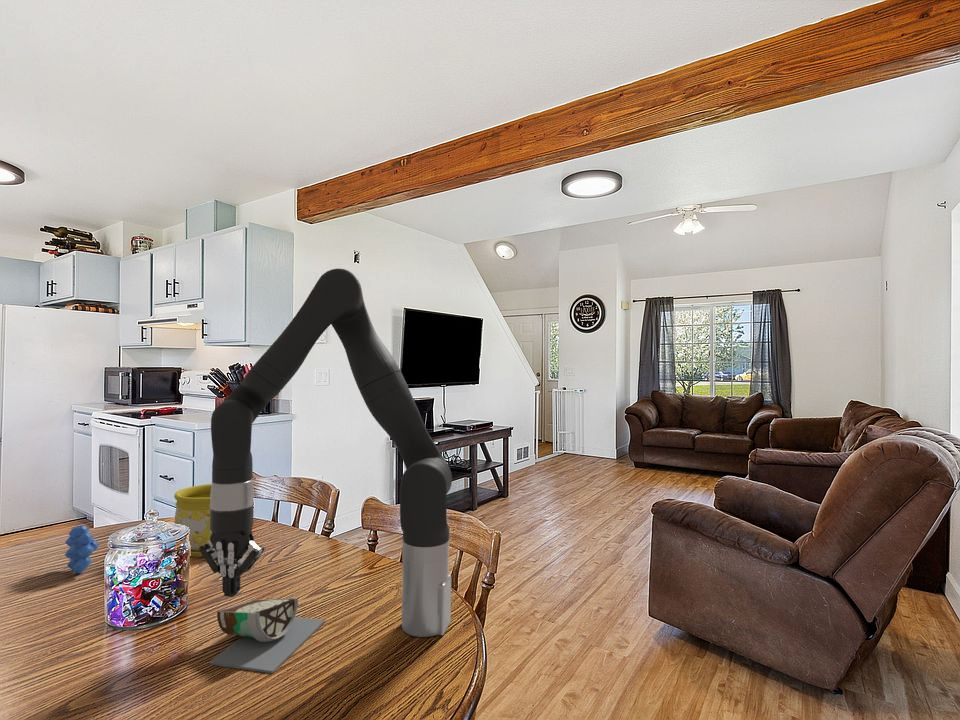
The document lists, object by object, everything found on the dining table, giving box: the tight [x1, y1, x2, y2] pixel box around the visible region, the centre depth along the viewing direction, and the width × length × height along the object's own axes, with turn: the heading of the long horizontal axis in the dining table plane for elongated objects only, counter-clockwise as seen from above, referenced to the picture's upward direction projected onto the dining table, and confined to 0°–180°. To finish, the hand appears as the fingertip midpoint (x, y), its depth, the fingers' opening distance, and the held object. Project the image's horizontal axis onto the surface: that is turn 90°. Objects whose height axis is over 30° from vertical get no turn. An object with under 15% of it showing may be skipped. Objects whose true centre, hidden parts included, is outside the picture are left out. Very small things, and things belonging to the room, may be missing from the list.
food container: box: [216, 597, 299, 642], centre depth 99 cm, size 12×6×10 cm
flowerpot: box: [173, 483, 212, 558], centre depth 147 cm, size 18×18×16 cm
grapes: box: [64, 524, 101, 575], centre depth 130 cm, size 12×7×12 cm, turn 55°
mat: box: [208, 616, 326, 674], centre depth 99 cm, size 12×18×1 cm
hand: (231, 594), depth 100 cm, fingers closed
